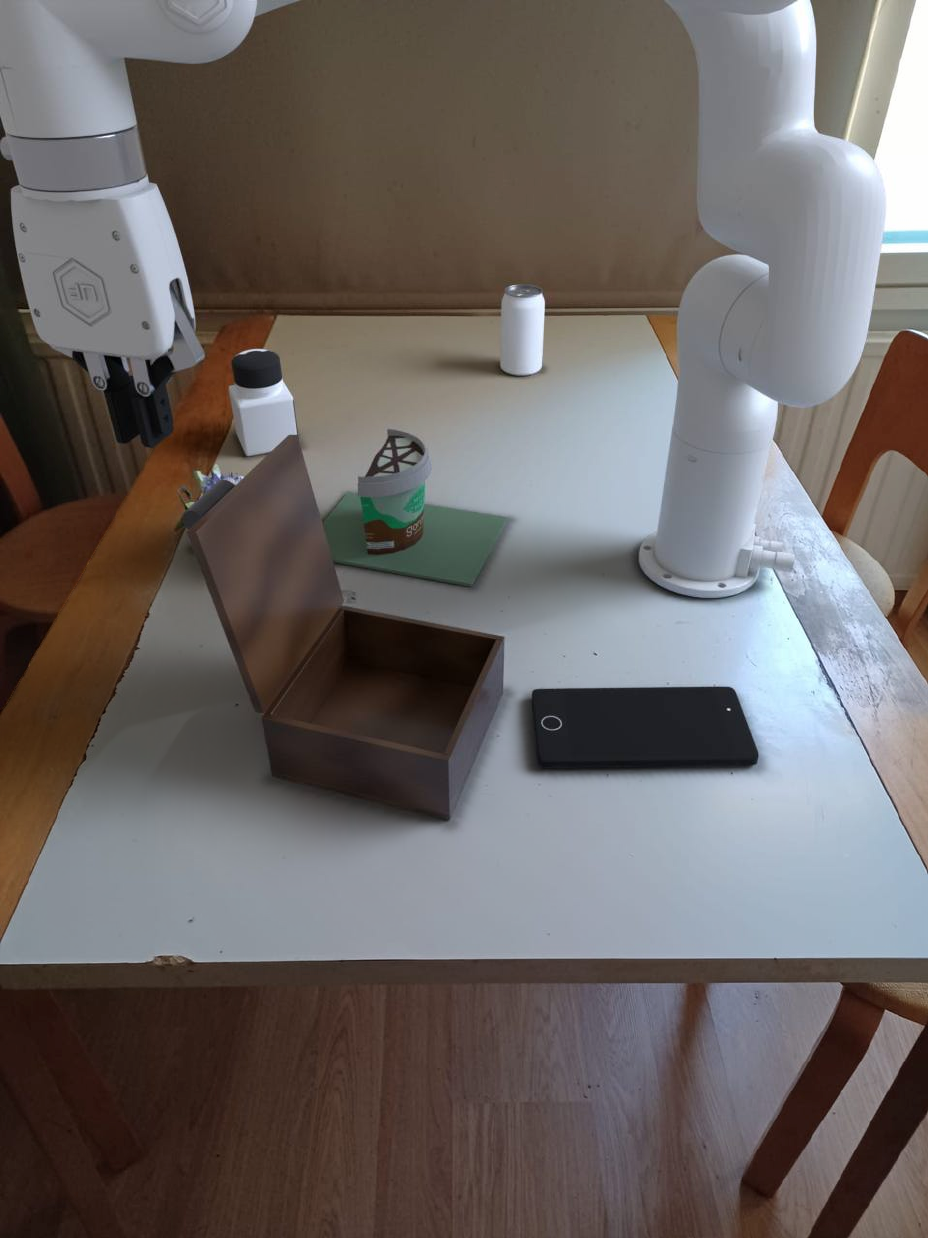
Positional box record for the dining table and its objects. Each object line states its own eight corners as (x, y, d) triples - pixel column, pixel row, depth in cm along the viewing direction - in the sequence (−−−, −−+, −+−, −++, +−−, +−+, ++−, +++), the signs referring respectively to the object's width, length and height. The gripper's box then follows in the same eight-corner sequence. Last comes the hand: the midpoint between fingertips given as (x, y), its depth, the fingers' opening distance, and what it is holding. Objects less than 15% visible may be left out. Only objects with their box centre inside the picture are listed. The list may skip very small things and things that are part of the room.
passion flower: (267, 593, 103) (261, 555, 92) (168, 579, 102) (151, 539, 90) (281, 502, 106) (278, 455, 95) (187, 489, 105) (172, 439, 94)
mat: (507, 520, 105) (507, 517, 105) (471, 587, 94) (471, 584, 94) (348, 494, 110) (347, 491, 110) (297, 555, 99) (296, 552, 99)
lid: (297, 434, 72) (240, 435, 73) (196, 532, 60) (130, 530, 62) (344, 601, 81) (292, 598, 82) (264, 714, 69) (205, 708, 71)
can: (494, 363, 142) (495, 285, 135) (533, 358, 144) (536, 281, 136) (508, 379, 137) (510, 299, 130) (548, 373, 139) (552, 294, 132)
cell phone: (530, 696, 81) (531, 688, 80) (732, 693, 81) (734, 685, 80) (538, 769, 74) (538, 761, 73) (758, 766, 74) (761, 758, 73)
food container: (419, 567, 97) (415, 484, 90) (363, 561, 98) (356, 479, 91) (444, 509, 106) (442, 430, 100) (393, 504, 107) (388, 426, 101)
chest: (503, 693, 81) (504, 636, 77) (449, 820, 70) (448, 761, 66) (347, 661, 85) (340, 604, 81) (272, 777, 73) (260, 717, 69)
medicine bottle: (300, 448, 120) (289, 360, 112) (246, 457, 118) (231, 368, 110) (288, 426, 125) (276, 340, 118) (236, 434, 123) (221, 348, 116)
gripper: (-69, 166, 54) (23, 445, 66) (157, 183, 51) (214, 476, 62) (15, 143, 60) (87, 404, 71) (224, 156, 56) (266, 429, 67)
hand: (146, 436), depth 66 cm, fingers closed
